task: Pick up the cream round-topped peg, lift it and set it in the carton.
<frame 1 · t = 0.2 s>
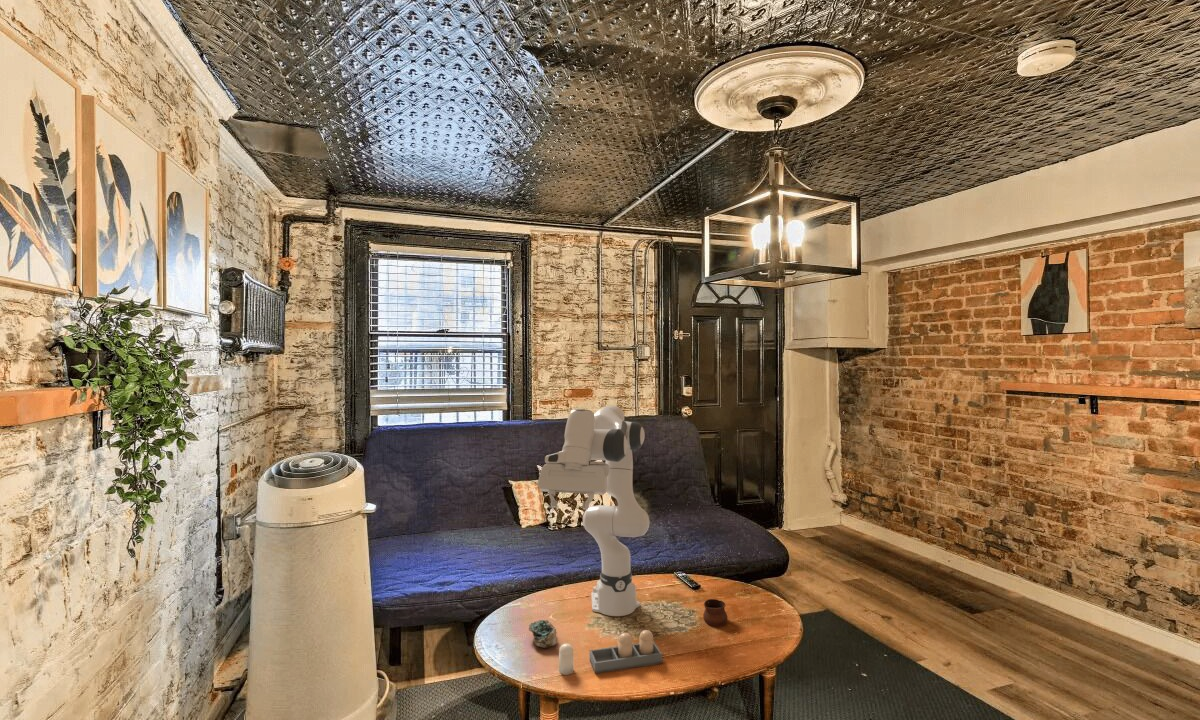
hand: (569, 508, 156), 54 cm above the table, tool tilted 30°, fingers open, 8 cm apart
mineral specimen: (545, 643, 186), on the table
carton: (625, 661, 174), on the table
ceramic pot: (715, 623, 200), on the table
cream round-topped peg: (566, 670, 169), on the table
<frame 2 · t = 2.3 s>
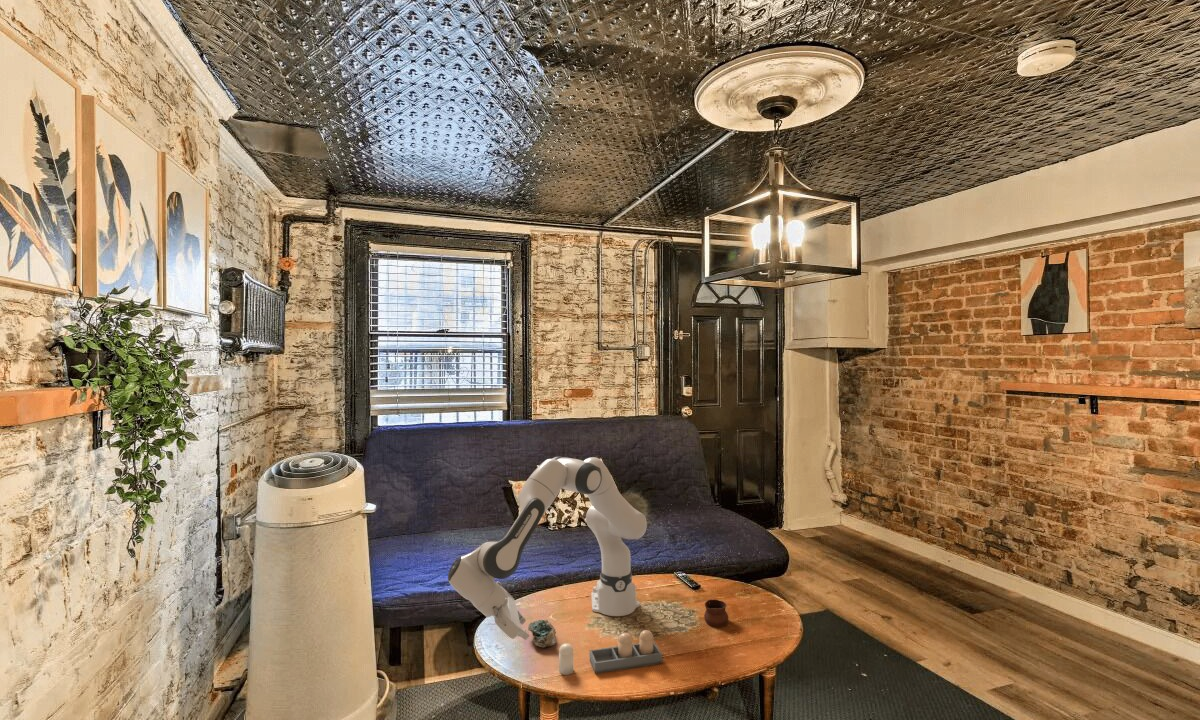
hand: (525, 629, 166), 14 cm above the table, tool tilted 45°, fingers open, 8 cm apart
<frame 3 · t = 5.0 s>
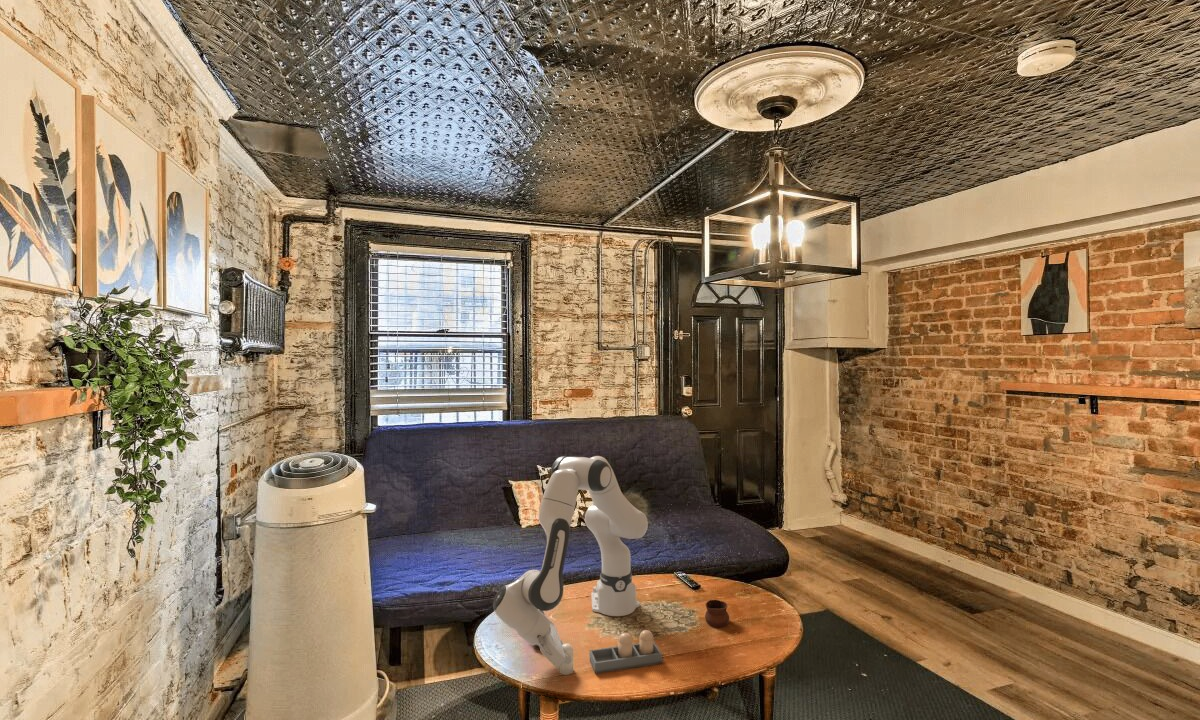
hand: (568, 656, 169), 4 cm above the table, tool tilted 45°, fingers closed on cream round-topped peg, 4 cm apart
cream round-topped peg: (566, 670, 169), on the table, touching gripper
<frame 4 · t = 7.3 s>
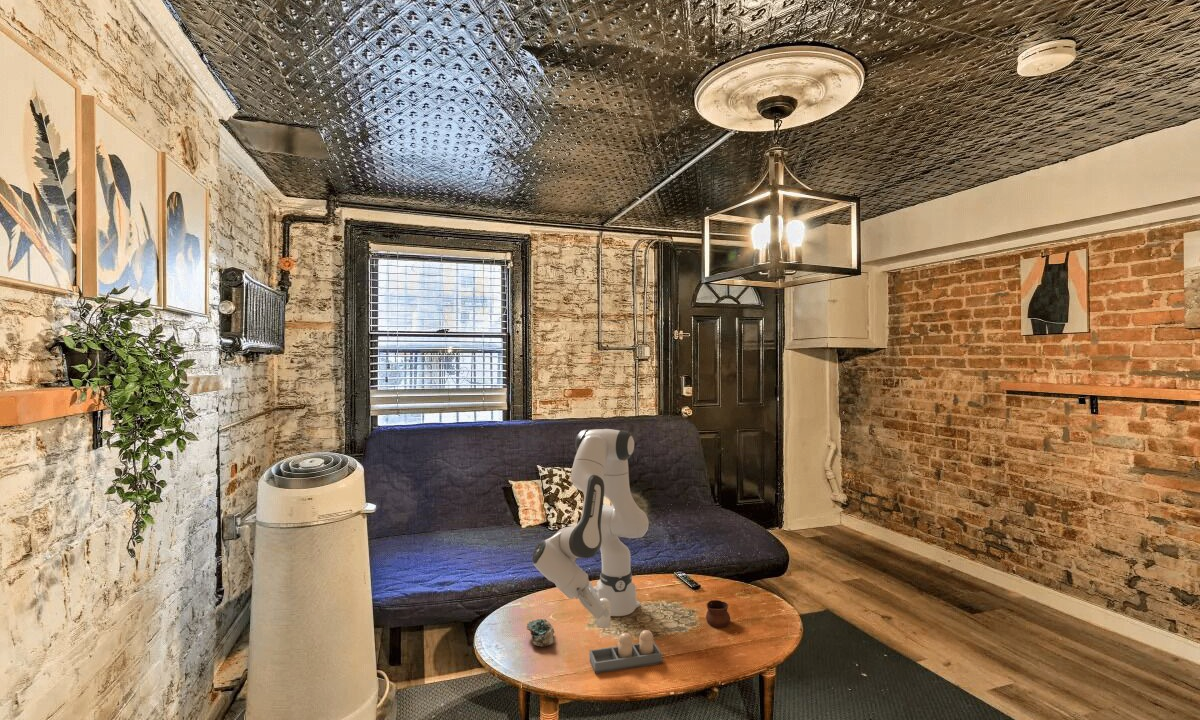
hand: (605, 610, 172), 17 cm above the table, tool tilted 45°, fingers closed on cream round-topped peg, 4 cm apart
cream round-topped peg: (603, 624, 172), point 13 cm above the table, touching gripper
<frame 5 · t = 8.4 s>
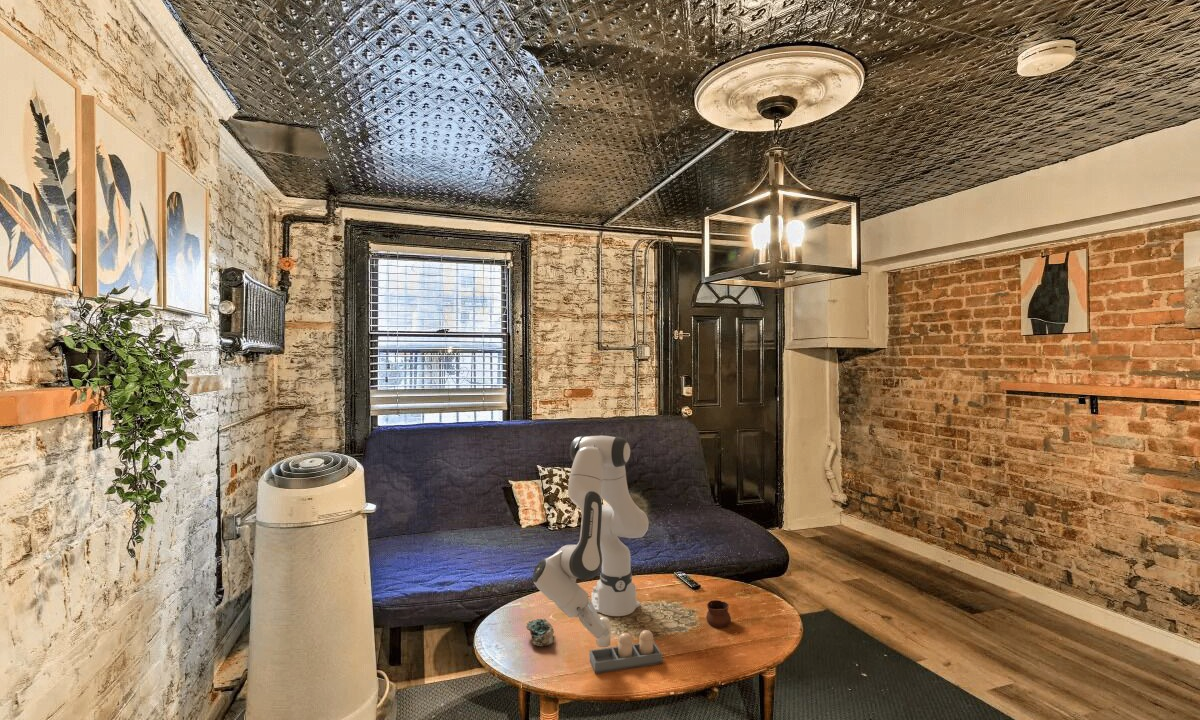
hand: (605, 629, 172), 11 cm above the table, tool tilted 45°, fingers closed on cream round-topped peg, 4 cm apart
cream round-topped peg: (603, 643, 172), point 7 cm above the table, touching gripper
when the fingers open (7 cm above the table, at t = 9.6 s): cream round-topped peg drops 2 cm, resting on carton.
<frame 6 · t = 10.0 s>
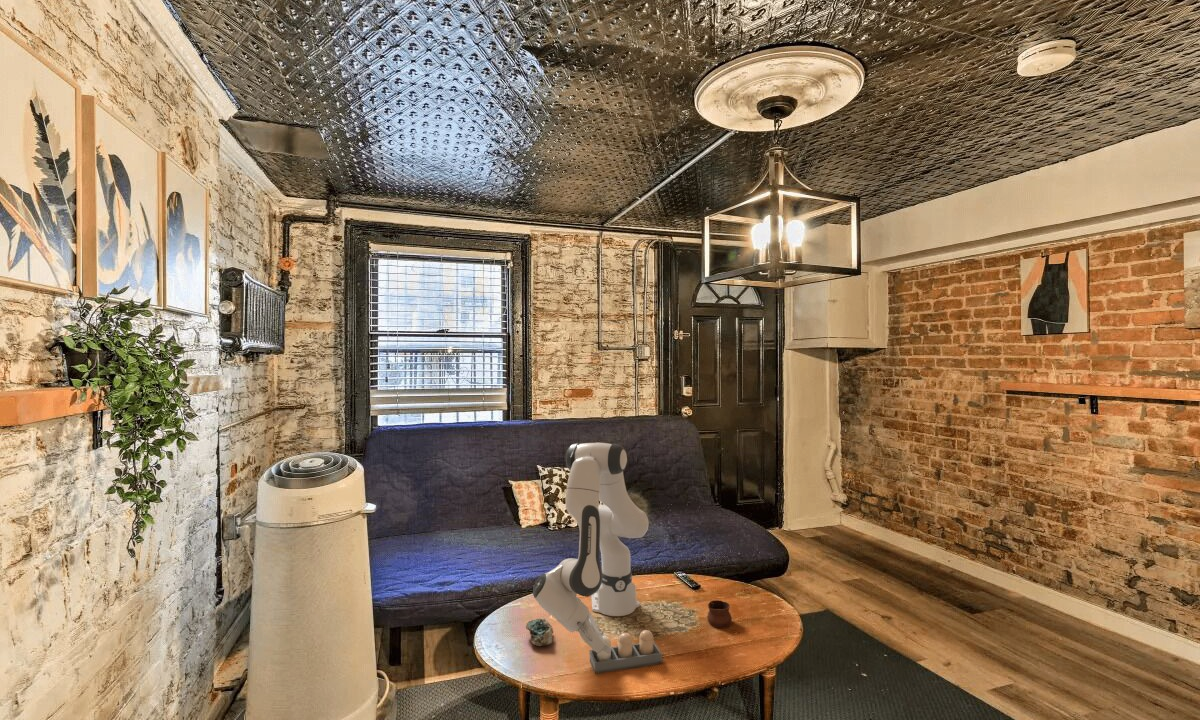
hand: (605, 643, 172), 7 cm above the table, tool tilted 45°, fingers open, 8 cm apart
cream round-topped peg: (604, 662, 172), point 1 cm above the table, touching carton
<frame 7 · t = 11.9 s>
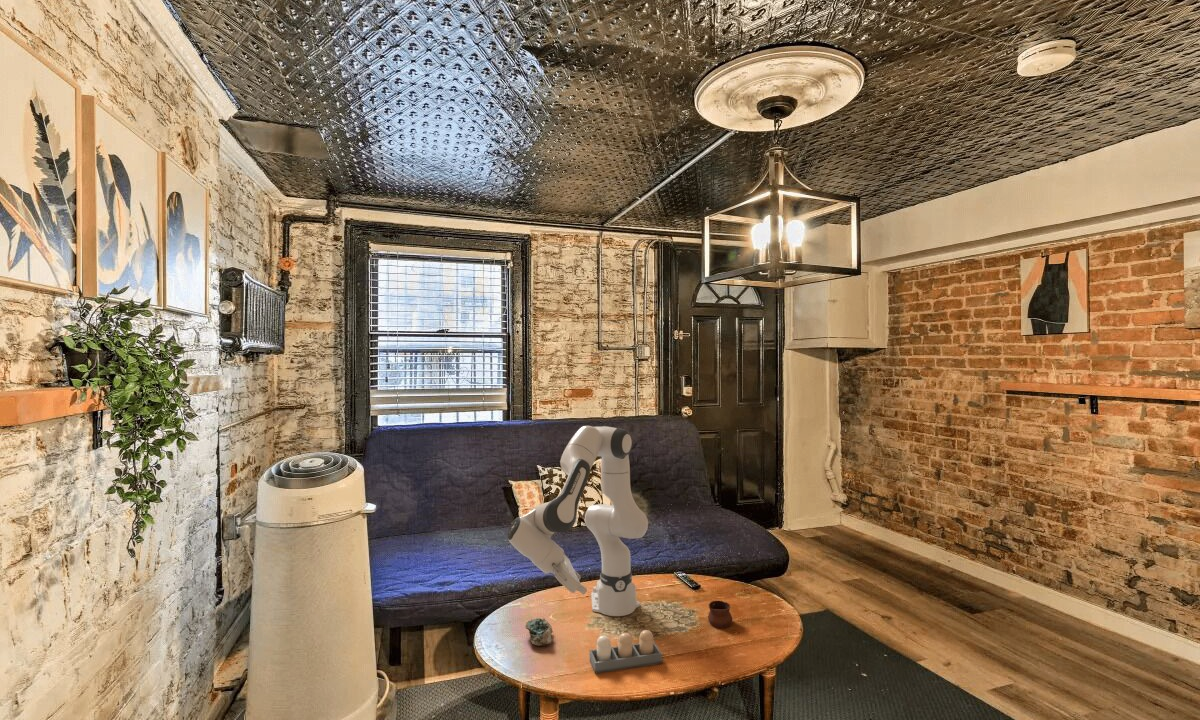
hand: (582, 585, 173), 25 cm above the table, tool tilted 45°, fingers open, 8 cm apart
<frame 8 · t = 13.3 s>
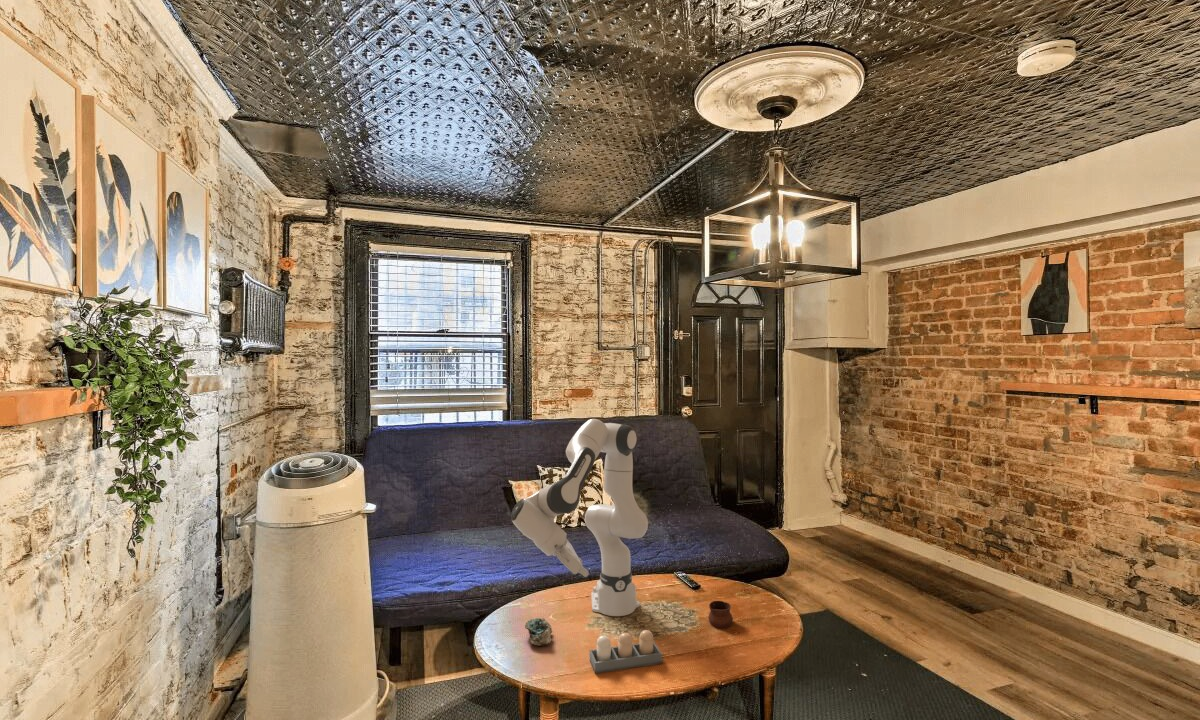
hand: (583, 568, 174), 29 cm above the table, tool tilted 45°, fingers open, 8 cm apart
at the end: cream round-topped peg 0.1 cm from the target spot on the carton, point 0.8 cm above the carton's base; cream round-topped peg tilted 0°; the gripper is holding nothing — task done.
